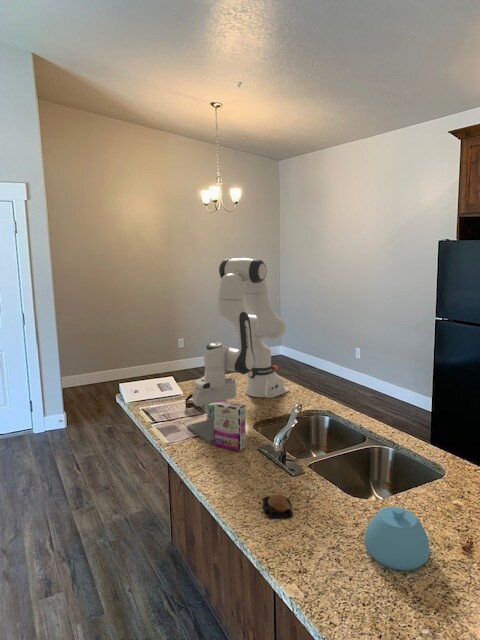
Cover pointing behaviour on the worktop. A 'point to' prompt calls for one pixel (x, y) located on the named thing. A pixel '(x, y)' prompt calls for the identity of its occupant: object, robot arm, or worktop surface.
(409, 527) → the sugar bowl
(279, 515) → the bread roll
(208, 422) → the slate board
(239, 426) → the candy bar box
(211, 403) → the teal block
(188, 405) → the brown arched frame
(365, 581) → the worktop surface
